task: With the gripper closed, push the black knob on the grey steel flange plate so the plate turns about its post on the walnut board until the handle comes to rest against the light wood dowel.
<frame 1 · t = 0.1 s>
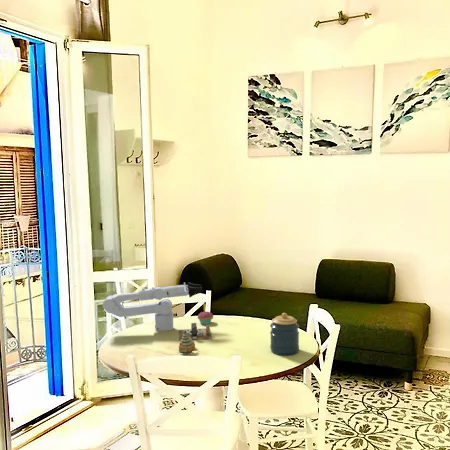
hand: (202, 288, 253), 22 cm above the table, tool horizontal, fingers open, 7 cm apart
ornament: (187, 351, 221), on the table
canister: (284, 351, 220), on the table
cupcake: (205, 325, 262), on the table
board: (195, 336, 242), on the table
dowel: (207, 336, 241), resting on board
post: (194, 336, 242), resting on board
flange: (194, 329, 240), point 4 cm above the table, hinge at 0.0°
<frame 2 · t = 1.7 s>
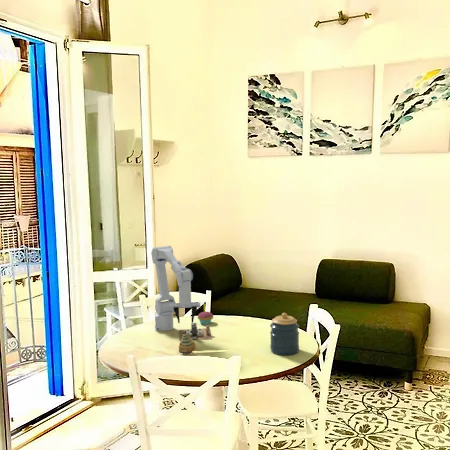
hand: (185, 322, 234), 9 cm above the table, tool pointing down, fingers open, 6 cm apart
nothing on the table moved.
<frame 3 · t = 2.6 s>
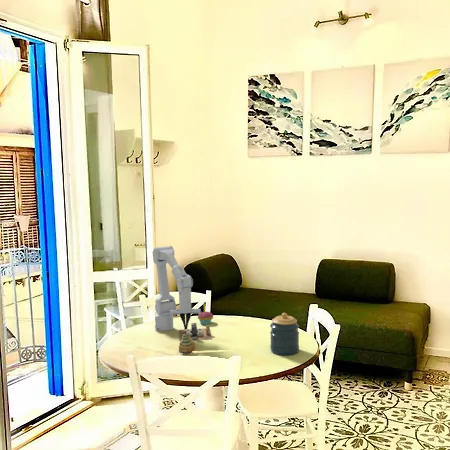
hand: (185, 328, 234), 6 cm above the table, tool pointing down, fingers closed
nothing on the table moved.
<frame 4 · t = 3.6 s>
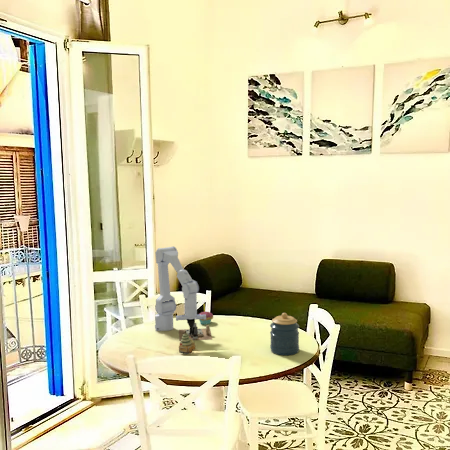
hand: (191, 334, 235), 3 cm above the table, tool pointing down, fingers closed, pressing on flange
flange: (194, 329, 240), point 4 cm above the table, hinge at 2.7°, touching gripper
everything else where it was.
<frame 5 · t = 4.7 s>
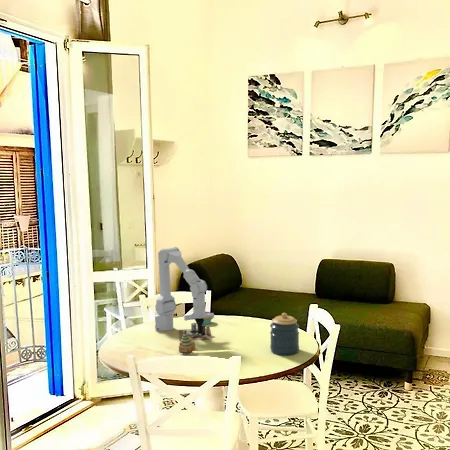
hand: (199, 333, 236), 3 cm above the table, tool pointing down, fingers closed, pressing on flange
flange: (196, 329, 240), point 4 cm above the table, hinge at 37.0°, touching gripper
everything else where it was.
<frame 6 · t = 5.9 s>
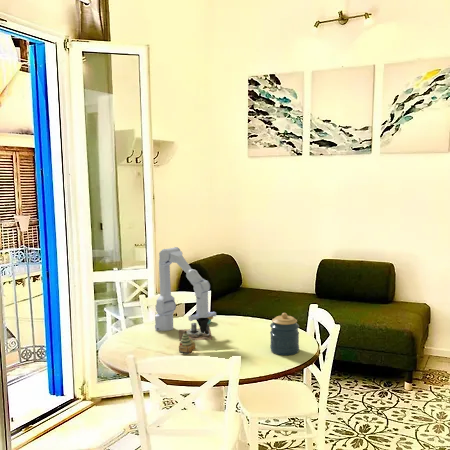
hand: (202, 332, 237), 3 cm above the table, tool pointing down, fingers closed
flange: (197, 328, 241), point 4 cm above the table, hinge at 60.0°, touching gripper
everything else where it was.
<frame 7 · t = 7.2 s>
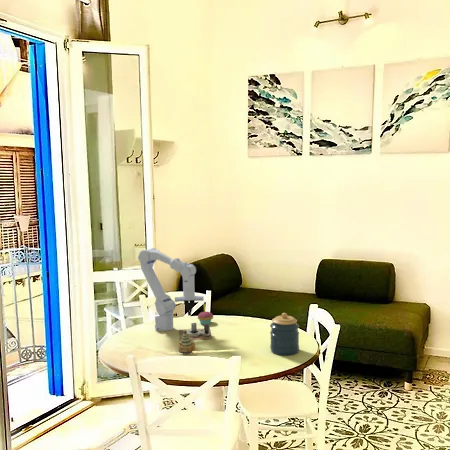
hand: (189, 315, 245), 10 cm above the table, tool pointing down, fingers closed
flange: (197, 328, 241), point 4 cm above the table, hinge at 60.1°
everything else where it was.
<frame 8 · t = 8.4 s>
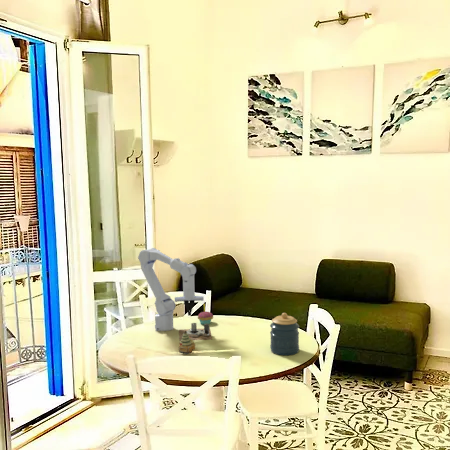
hand: (189, 315, 245), 10 cm above the table, tool pointing down, fingers closed
nothing on the table moved.
at the end: flange at +60° (first picture: +0°) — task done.
